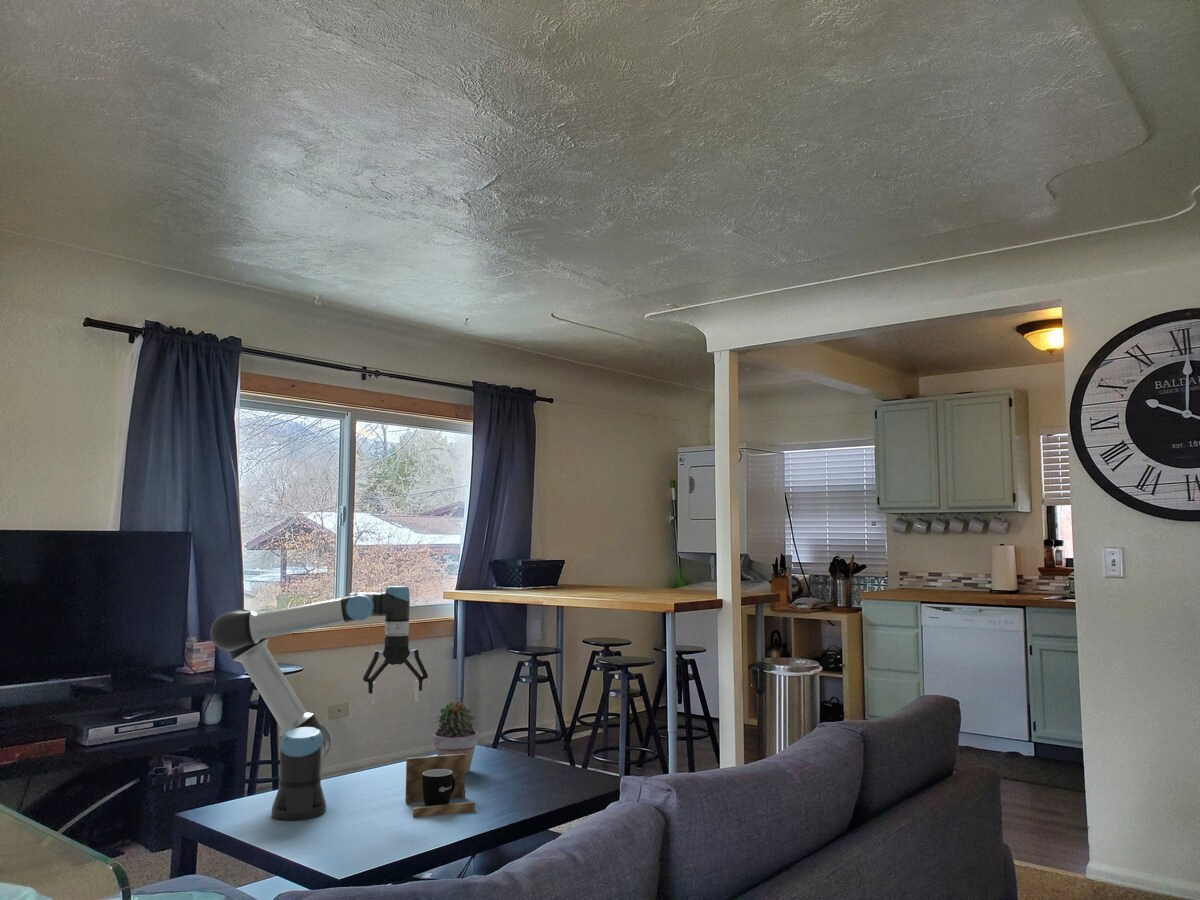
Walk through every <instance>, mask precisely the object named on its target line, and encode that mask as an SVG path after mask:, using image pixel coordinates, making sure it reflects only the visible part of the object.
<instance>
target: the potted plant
mask: <svg viewBox="0 0 1200 900" xmlns="http://www.w3.org/2000/svg"><path fill="white" fill-rule="evenodd" d="M440 712H441V713H440V715H438V717H436V718H435V719H437V720H438V721H435V722H433V723H431V725H432V724H436V723H439V724H438V725H437V728H438V729H436V731H435V732H433V734H432V740H433V747H434V748H435V751H436V756H438V755H450V754H463V753H464V754H465V775H467V774H469V773H470V770H471V766H472V762H473V758H474V754H475V753H474V752H475V748H476V747H477V745H478V737H479V732H478V731H477V730H474V726H475V725H476V724H474V722H472V721H473V720H476V719H478V720H479V719H480V718H478V717H476V716H475V717H474V716H473V715H472V713H471V709H470V708H469V709H468V707H466V705H464V704H463V702H462V701H458V700H457V702H452V701H451V702H449V704H448V703H447V704H446V705H445V707H443V708H441V709H440ZM435 719H434V720H435ZM473 725H474V726H473Z"/></svg>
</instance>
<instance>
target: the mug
mask: <svg viewBox="0 0 1200 900" xmlns="http://www.w3.org/2000/svg"><path fill="white" fill-rule="evenodd" d="M422 786H423V798H424V801H423V803H424V807H425V806H435V805H445V804H450V802H451V801H450V800H451V799H450V797H451V794H452V793H453V791H454V788H455V780H454V777H453V773H452V771H451V770H447V769H433V770H428V771H425V772H423V774H422Z"/></svg>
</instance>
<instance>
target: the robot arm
mask: <svg viewBox="0 0 1200 900" xmlns="http://www.w3.org/2000/svg"><path fill="white" fill-rule="evenodd" d="M410 602H411V599H410V588H409V587H408V586H407V585H389V586H386V588H385V591H383V592H357V591H356V592H350V593H348V595H347V596H345V597H339V598H334V599H329V600H324V601H319V602H313V603H308V604H304V605H298V606H293V607H288V608H281V609H277V610H271V611H266V612H260V613H257V612H255V611H250V610H249V609H235V610H233V611H228V612H225V613H222V614H220V615H219V616H218V617H217V618H216V619H214V621H213V623H212V624H211V628H210V640H211V642H212V643H213V644H214V646H215V647H216V648H218V649H219V650H221V651H226V652H227V653H228V654H229V655H230V657H231V659H232V660H233V661H234V662H240V663H241V664H242V666H243V668H244V670H245V671H246V673H247V675H248V676H249V678H250V680H251V681H252V683H253V684H254V687H256V689H257V692H258V693H259V695H260V696H261V697H262V699H263V701H264V703H265V704H266V706H267V707H268V709H269V711H270V712H271V714H272V716H273V717H274V719H275V721H276V722H277V724H278V726H279V727H280V732H279V737H280V743H279V748H280V757H279V778H278V779H279V780H278V782H279V783H278V790H277V792H276V795H275V798H274V800H273V803H272V807H271V817H272V818H274V819H276V820H280V819H281V820H282V821H297V820H298V821H299V820H306V819H312V818H316V817H319V816H321V815H323V814H324V813H326V811H327V801H326V798H325V794H324V790H323V788H322V783H321V782H322V781H321V777H322V760H323V759H324V758H325V757H326V756H327V754H328V752H329V750H330V747H331V734H330V732H329V730H328V728H327V727H325V726H324V724H322V723H321V722H319V720H318V718H317V717H316V715H315V713H313V712H310V711H309V712H308V711H306V709H305V707H304V706H303V703H302V702H301V701H300V699H299V697H298V696H297V694H296V692H295V691H294V689H293V687H292V686H291V684H290V683H289V681H288V679H287V678H286V676H285V675H284V673H283V671H282V669H281V668H280V665H279V664H278V662H277V661H276V659H275V658H274V656H273V654H272V653H271V652H270V650H269V647H268V643H269V638H273V637H278V636H284V635H287V634H289V635H290V634H293V633H299V632H302V631H308V630H315V629H319V628H325V627H328V626H334V625H339V624H344V623H350V622H354V621H355V622H356V621H363V620H366V619H368V618H370V617H385V618H384V620H385V621H384V633H385V635H384V649H383V651H381V650H380V651H379V650H374V652H373V658H372V659H371V661H370V663H369V665H368V667H367V669H366V671H365V672H364V674H363V676H362V680H363V682H367V683H368V686H367V687H368V690H367V692H368V694H371V705H373V706H374V705H376V682H375V680H376V679H377V678H378V677H379V676H380V674H381V673H382V672H383V671H384V670H385V668H387V666H388V665H389V664H390V665H392V666H394V665H403V664H405V665H406V667H407V668H408V669H409V671H410V672H412V674H413V675H414V676H415V677H416V679H415V685H414V702H415V703H419V702H420V701H419V700H420V699H419V697H420V696H419V692H420V691H421V692H422V690H423V681H424V680H425V679H428V678H429V675H428V672H427V671H426V669H425V666H424V663H423V662H422V660H421V658H420V655H419V650H418V649H417V648H415V649H411V650H410V648H409V646H410V645H409V643H410V642H409V641H410V640H409V637H410V635H408V634H409V632H410V608H411V607H410ZM410 655H411V656H412V657H413V658H414V660H415V662H416V664H417V666H418V668H419V671H420V672H421V674H420V673H419V671H417V670H416V668H415V667H414V666H413V665H412V664H411V662H410V661H409V660H408V658H409V657H410ZM382 656H383V658H384V660H383V662H382V663H381V664H380V665H379V667H377V669H376V670H375V671H374V672H373V674H372V671H373V669H374V668H375V666H376V664H377V662H378V660H379V658H381V657H382ZM371 674H372V675H371ZM370 675H371V676H370Z"/></svg>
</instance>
